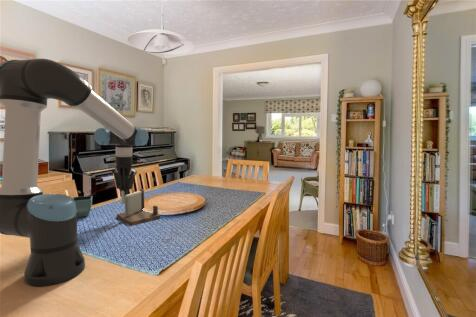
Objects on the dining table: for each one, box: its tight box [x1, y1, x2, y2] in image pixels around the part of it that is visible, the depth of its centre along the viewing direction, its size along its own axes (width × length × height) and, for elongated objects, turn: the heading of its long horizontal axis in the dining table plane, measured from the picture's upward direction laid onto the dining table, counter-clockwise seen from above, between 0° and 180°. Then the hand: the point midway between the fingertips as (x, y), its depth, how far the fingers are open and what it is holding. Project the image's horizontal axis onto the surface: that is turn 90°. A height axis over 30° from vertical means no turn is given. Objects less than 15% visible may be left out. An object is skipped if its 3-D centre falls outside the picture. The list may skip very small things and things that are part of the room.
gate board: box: [116, 188, 161, 226], centre depth 131 cm, size 15×16×12 cm
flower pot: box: [72, 195, 93, 218], centre depth 133 cm, size 9×9×9 cm
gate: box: [124, 190, 142, 215], centre depth 132 cm, size 10×2×10 cm, turn 163°
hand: (124, 203), depth 130 cm, fingers closed
